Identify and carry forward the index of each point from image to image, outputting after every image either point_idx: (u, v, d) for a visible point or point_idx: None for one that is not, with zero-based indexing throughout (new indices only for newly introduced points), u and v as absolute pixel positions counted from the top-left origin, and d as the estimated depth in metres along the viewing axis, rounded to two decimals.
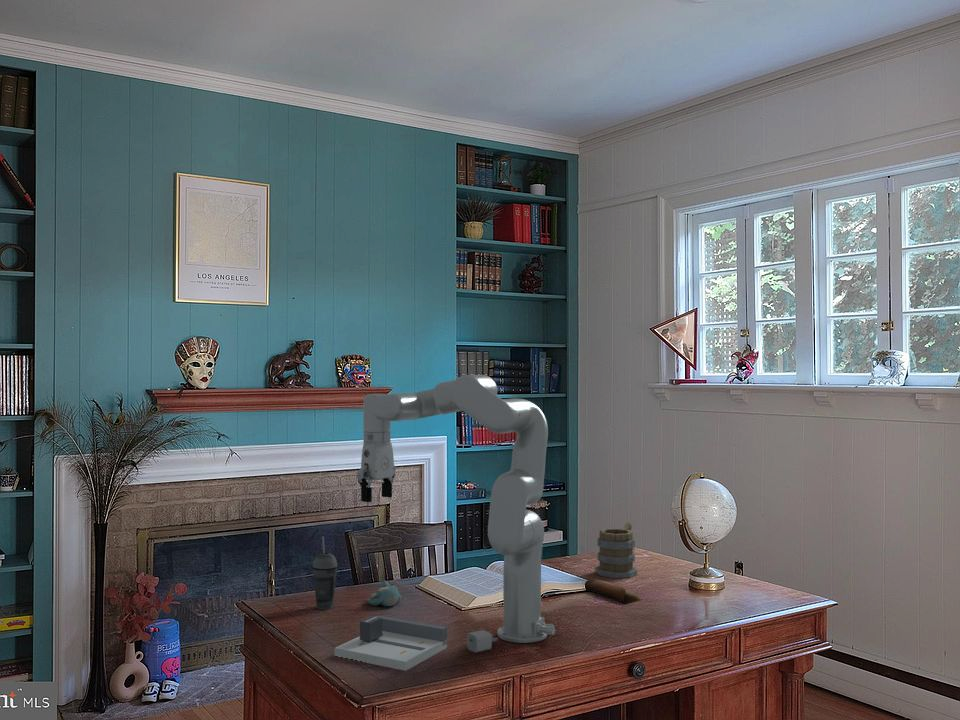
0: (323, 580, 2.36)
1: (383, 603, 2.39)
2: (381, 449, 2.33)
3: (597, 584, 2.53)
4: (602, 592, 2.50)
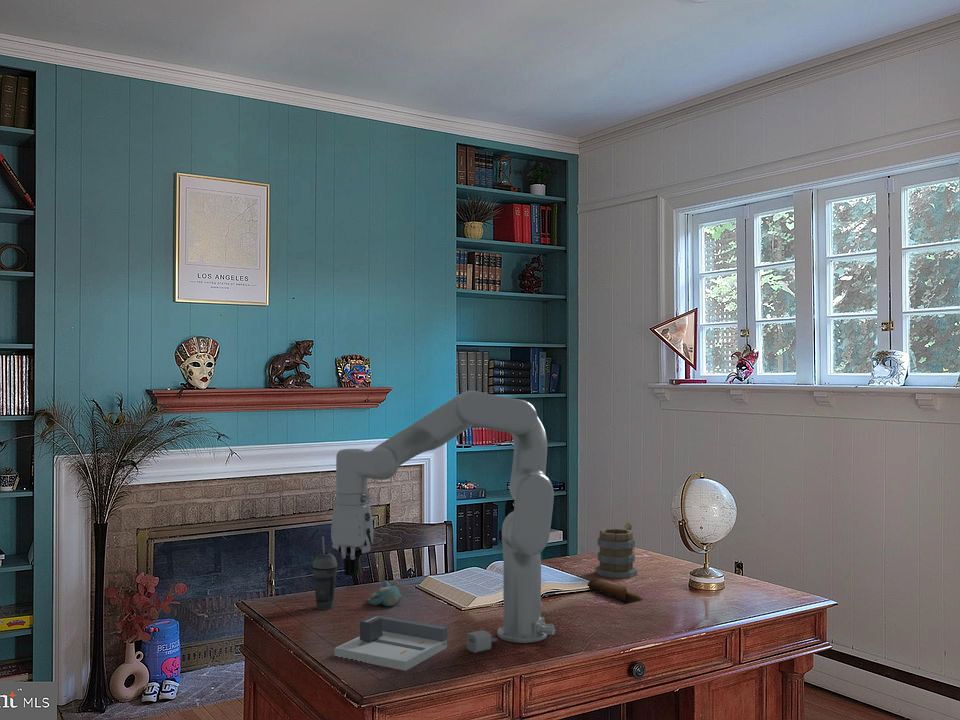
0: (323, 580, 2.36)
1: (384, 603, 2.39)
2: None
3: (600, 583, 2.54)
4: (604, 591, 2.51)
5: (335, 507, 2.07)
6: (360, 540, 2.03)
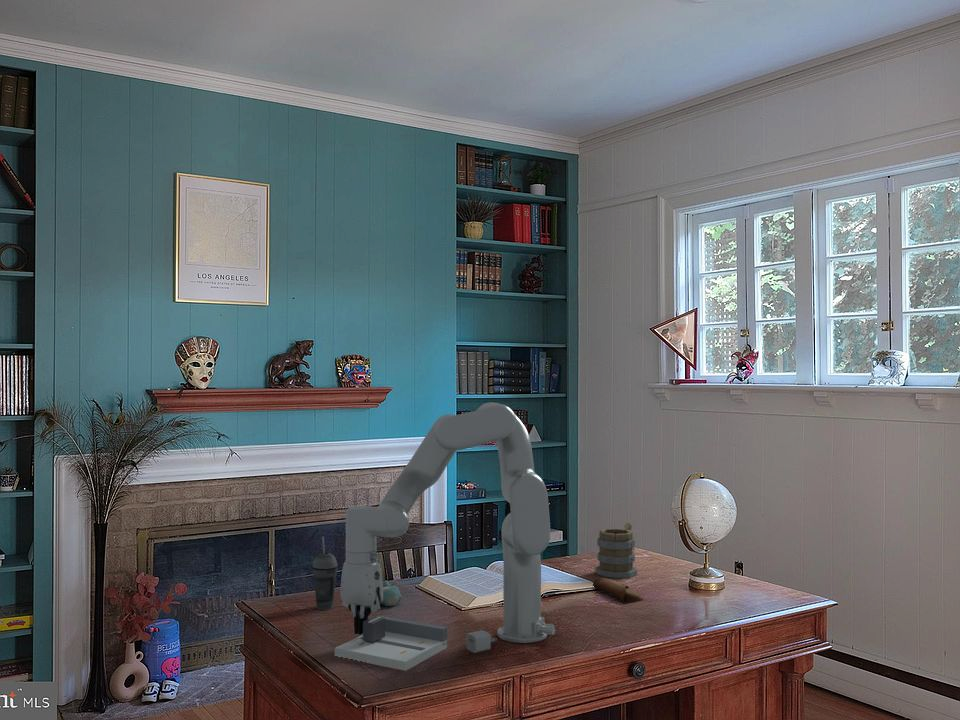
0: (323, 580, 2.36)
1: (384, 603, 2.39)
2: None
3: (603, 582, 2.55)
4: (606, 591, 2.52)
5: (344, 565, 2.05)
6: (370, 599, 2.02)
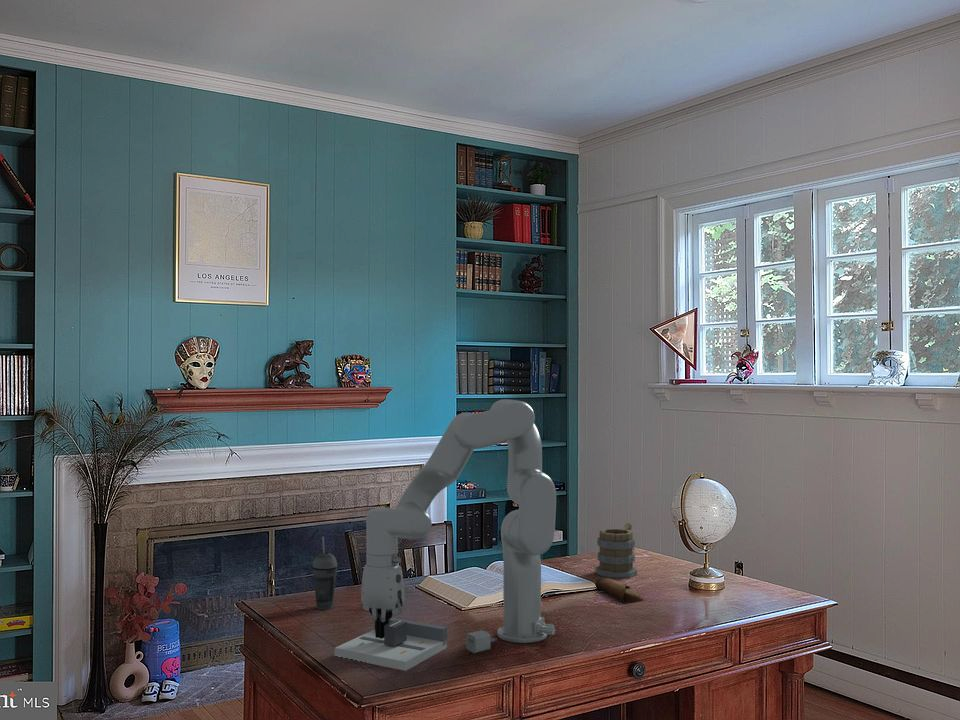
0: (323, 580, 2.36)
1: None
2: None
3: (605, 582, 2.55)
4: (607, 590, 2.52)
5: (365, 568, 2.02)
6: (391, 603, 1.99)
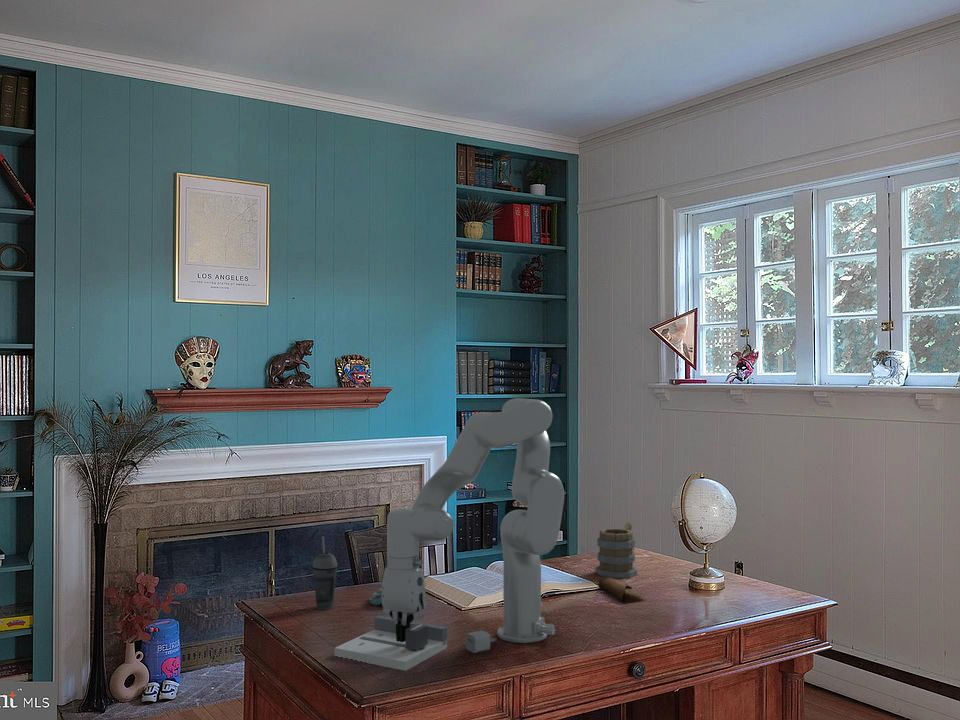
0: (323, 580, 2.36)
1: None
2: None
3: (607, 582, 2.56)
4: (609, 590, 2.52)
5: (386, 570, 1.99)
6: (413, 606, 1.96)
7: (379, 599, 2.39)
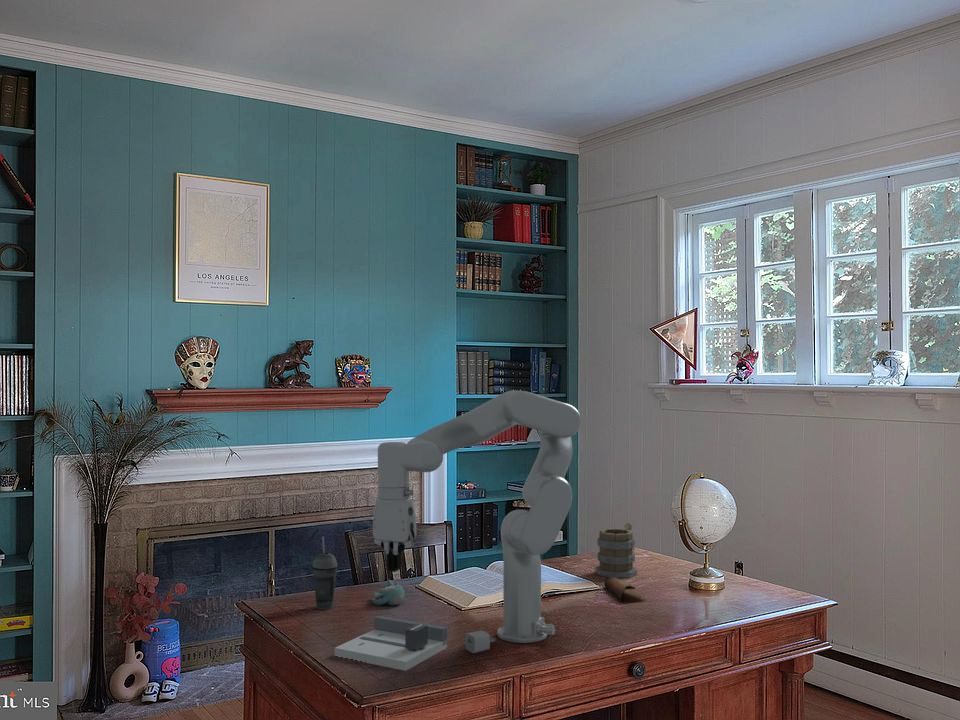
0: (323, 580, 2.36)
1: (389, 602, 2.40)
2: None
3: (611, 582, 2.56)
4: (611, 590, 2.53)
5: (377, 501, 2.02)
6: (404, 535, 1.99)
7: (383, 599, 2.40)
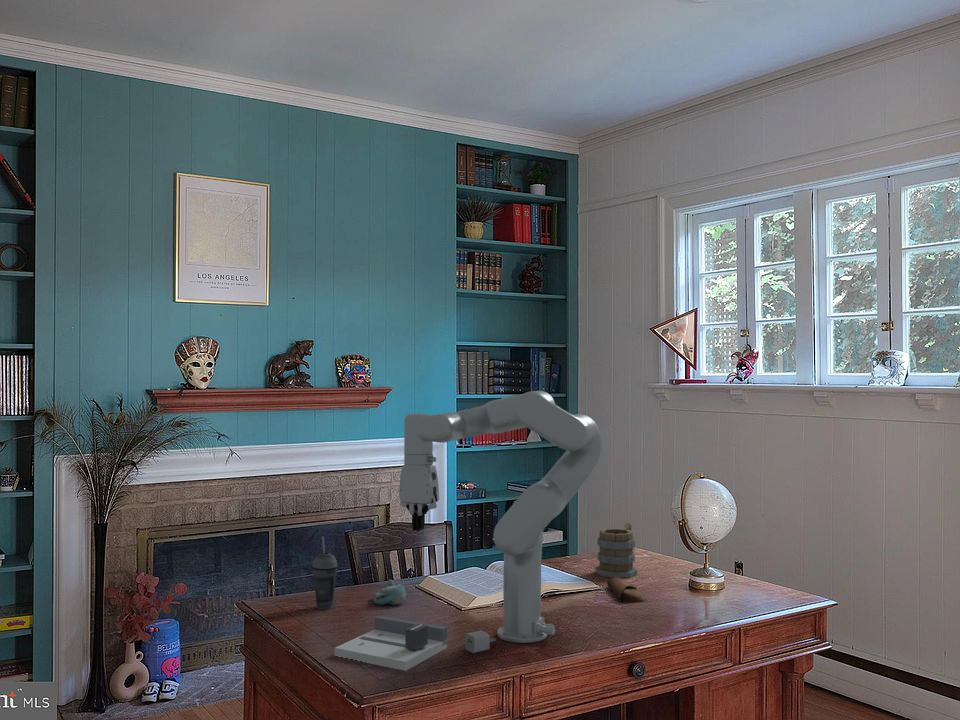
0: (323, 580, 2.36)
1: (391, 602, 2.40)
2: None
3: (613, 581, 2.56)
4: (613, 589, 2.53)
5: (403, 467, 2.22)
6: (427, 497, 2.19)
7: (385, 598, 2.40)
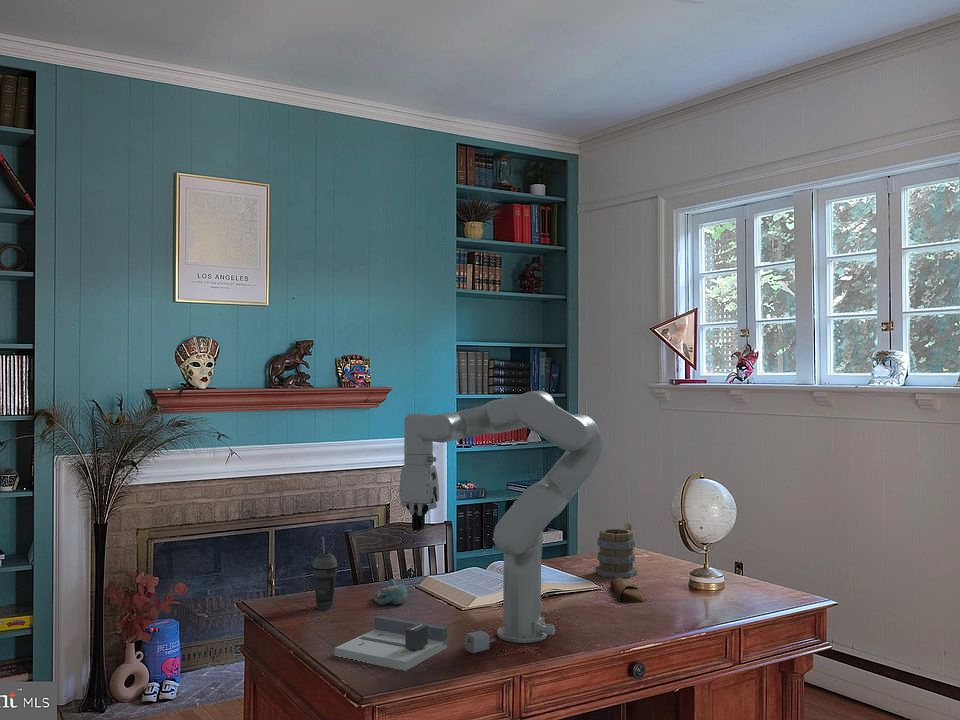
0: (323, 580, 2.36)
1: (393, 601, 2.40)
2: None
3: (615, 581, 2.57)
4: (614, 589, 2.53)
5: (403, 467, 2.23)
6: (427, 497, 2.19)
7: (387, 598, 2.40)
